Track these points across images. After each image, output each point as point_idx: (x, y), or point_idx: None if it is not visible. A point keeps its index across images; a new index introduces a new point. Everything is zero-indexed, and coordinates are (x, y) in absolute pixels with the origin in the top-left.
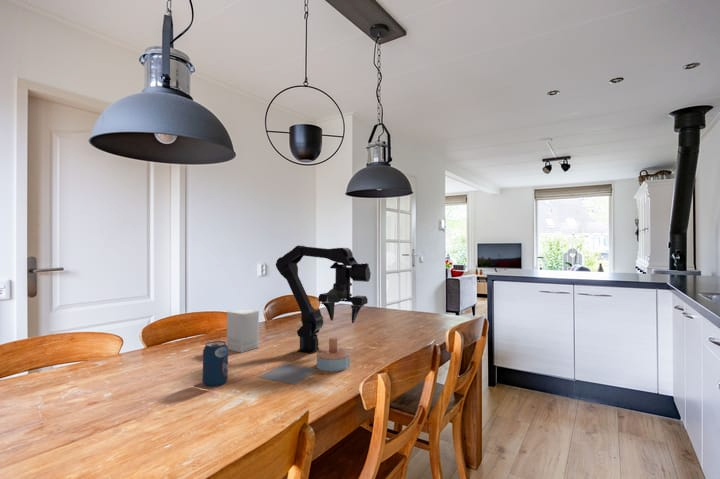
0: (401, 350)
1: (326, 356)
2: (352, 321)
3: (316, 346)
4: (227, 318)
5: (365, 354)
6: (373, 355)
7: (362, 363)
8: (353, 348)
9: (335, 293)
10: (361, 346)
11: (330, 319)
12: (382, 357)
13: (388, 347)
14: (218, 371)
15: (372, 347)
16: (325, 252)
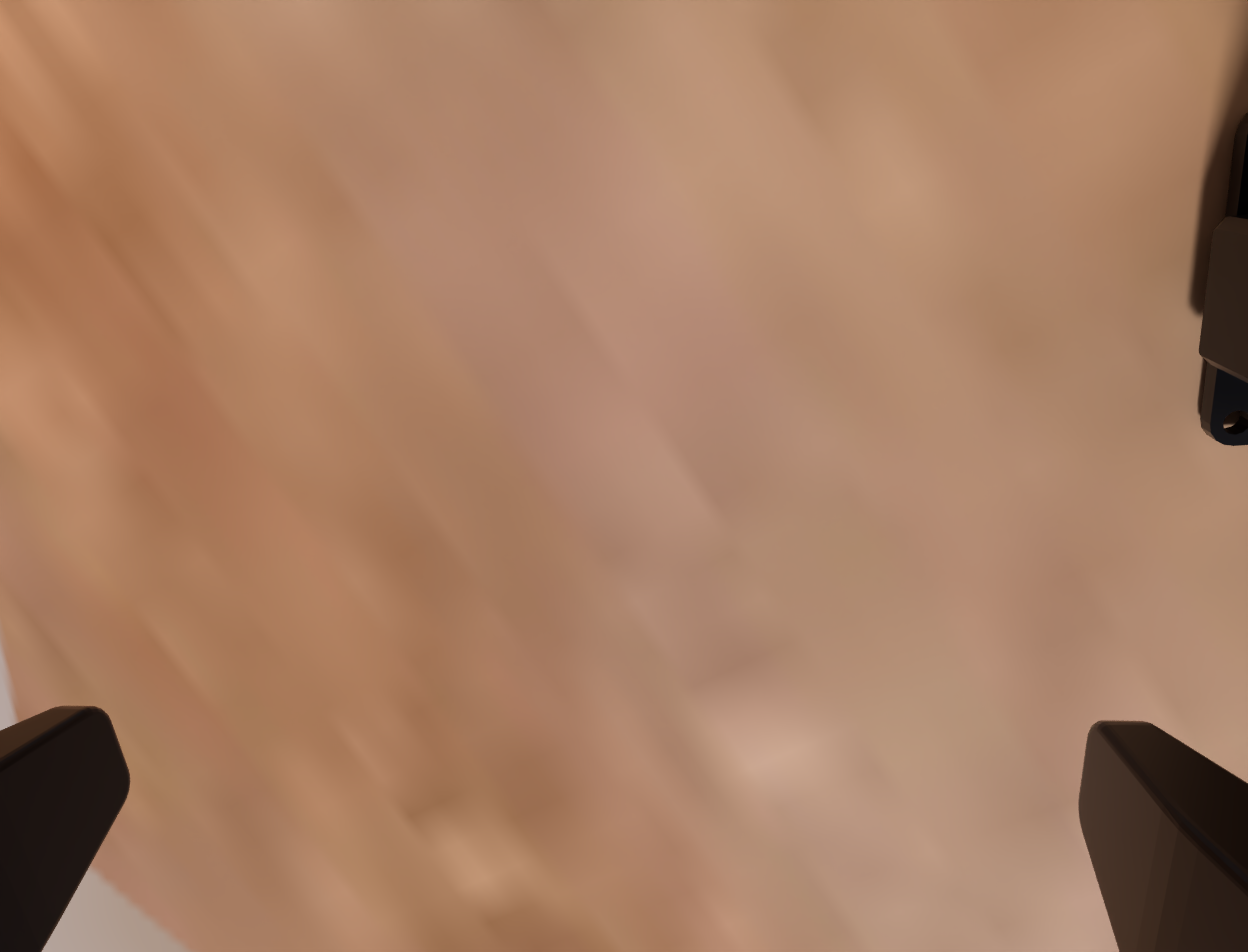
0: (135, 888)
1: None
2: (16, 729)
3: (1242, 294)
4: None
5: (370, 558)
6: (255, 569)
7: (119, 140)
8: (689, 729)
9: None
10: (643, 850)
11: (1178, 741)
12: (109, 547)
13: (327, 934)
14: None
15: (490, 866)
16: None
